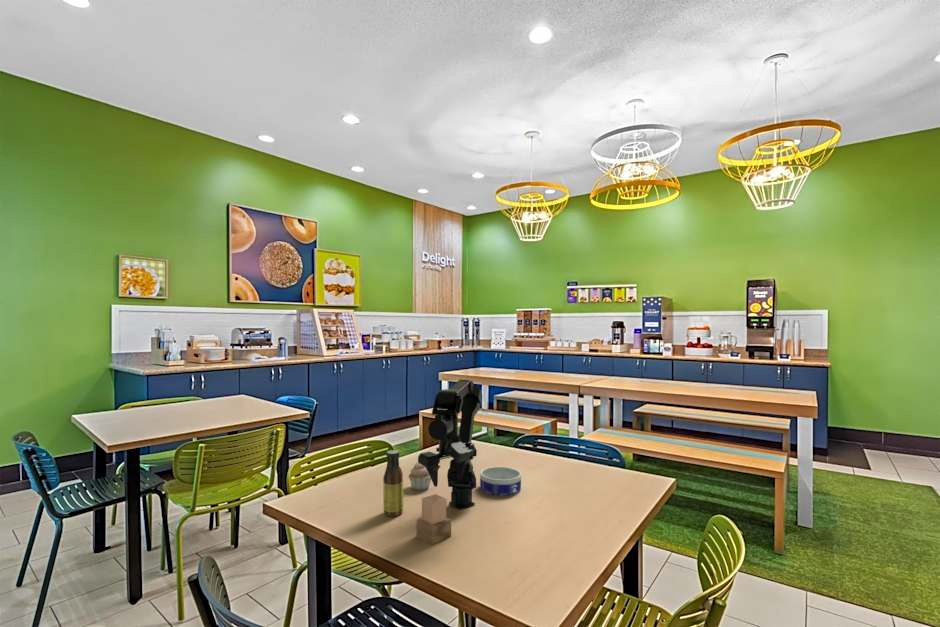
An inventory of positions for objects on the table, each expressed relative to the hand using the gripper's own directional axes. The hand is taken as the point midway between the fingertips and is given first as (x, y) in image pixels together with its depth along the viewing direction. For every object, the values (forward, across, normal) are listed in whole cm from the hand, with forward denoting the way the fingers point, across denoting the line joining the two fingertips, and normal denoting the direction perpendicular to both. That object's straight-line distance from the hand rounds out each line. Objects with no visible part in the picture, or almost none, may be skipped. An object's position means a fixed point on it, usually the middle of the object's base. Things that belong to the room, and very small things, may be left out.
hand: (447, 483), depth 140 cm
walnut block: (+12, -8, -4) cm, 15 cm away
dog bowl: (+13, +34, +12) cm, 38 cm away
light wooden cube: (+8, -8, -4) cm, 12 cm away
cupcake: (+13, +11, +31) cm, 35 cm away
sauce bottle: (+13, -9, +17) cm, 23 cm away
